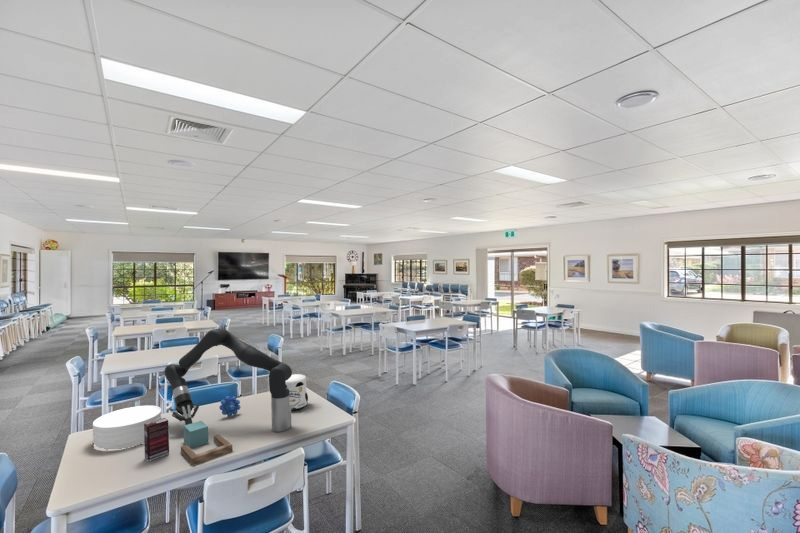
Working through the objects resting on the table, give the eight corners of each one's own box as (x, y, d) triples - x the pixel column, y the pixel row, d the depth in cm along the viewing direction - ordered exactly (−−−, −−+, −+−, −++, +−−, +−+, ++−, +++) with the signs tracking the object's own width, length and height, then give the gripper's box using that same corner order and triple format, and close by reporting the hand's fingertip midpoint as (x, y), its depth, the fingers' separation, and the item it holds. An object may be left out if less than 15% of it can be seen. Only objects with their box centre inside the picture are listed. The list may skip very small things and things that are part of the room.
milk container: (286, 415, 212) (285, 384, 212) (273, 407, 225) (273, 377, 225) (313, 407, 224) (312, 377, 224) (299, 400, 237) (299, 372, 237)
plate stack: (145, 422, 206) (145, 402, 206) (172, 433, 191) (172, 411, 191) (83, 443, 182) (82, 420, 182) (108, 457, 167) (108, 432, 167)
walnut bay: (219, 440, 182) (219, 434, 182) (232, 451, 171) (232, 444, 171) (180, 452, 170) (180, 446, 170) (192, 465, 159) (192, 458, 159)
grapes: (222, 421, 205) (221, 400, 205) (218, 418, 210) (217, 397, 210) (243, 415, 213) (243, 394, 213) (238, 412, 218) (238, 392, 218)
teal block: (201, 436, 187) (201, 420, 187) (208, 442, 180) (208, 426, 180) (184, 441, 181) (183, 425, 181) (190, 448, 174) (190, 431, 174)
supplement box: (165, 451, 172) (165, 417, 172) (169, 454, 169) (168, 419, 169) (143, 458, 165) (143, 423, 165) (147, 462, 162) (147, 426, 162)
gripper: (169, 396, 190) (176, 426, 182) (197, 389, 200) (205, 418, 191) (166, 403, 194) (173, 434, 185) (194, 397, 203) (201, 425, 195)
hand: (189, 425), depth 188 cm, fingers closed
